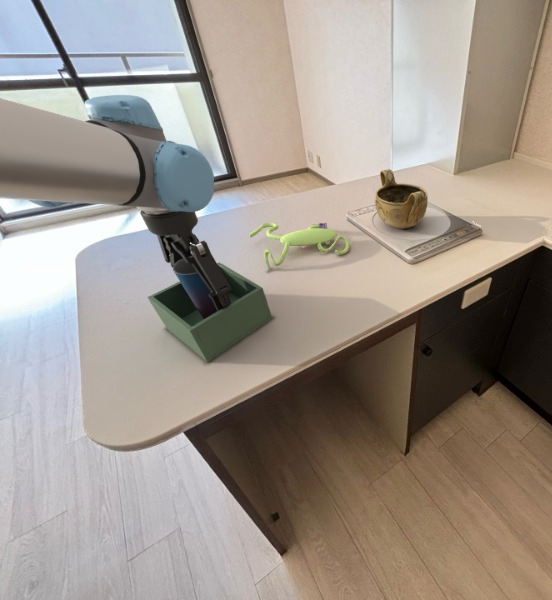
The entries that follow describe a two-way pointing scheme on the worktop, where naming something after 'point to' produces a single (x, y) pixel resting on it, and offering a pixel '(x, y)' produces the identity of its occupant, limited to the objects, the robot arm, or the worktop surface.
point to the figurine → (301, 239)
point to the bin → (221, 325)
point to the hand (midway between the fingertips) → (210, 303)
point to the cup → (195, 288)
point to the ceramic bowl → (400, 202)
